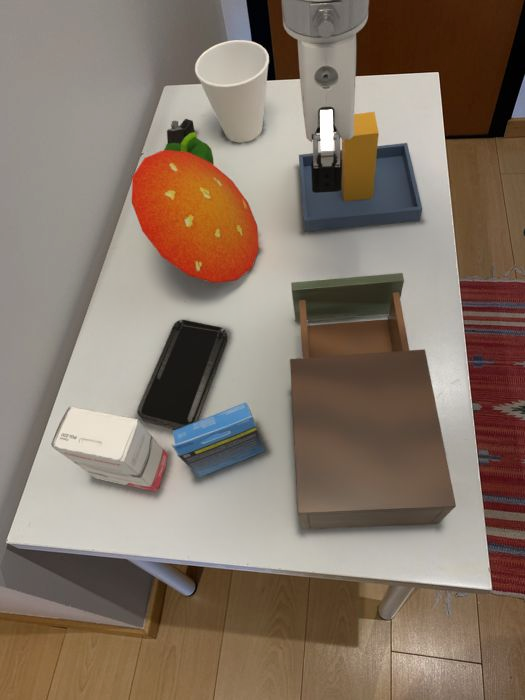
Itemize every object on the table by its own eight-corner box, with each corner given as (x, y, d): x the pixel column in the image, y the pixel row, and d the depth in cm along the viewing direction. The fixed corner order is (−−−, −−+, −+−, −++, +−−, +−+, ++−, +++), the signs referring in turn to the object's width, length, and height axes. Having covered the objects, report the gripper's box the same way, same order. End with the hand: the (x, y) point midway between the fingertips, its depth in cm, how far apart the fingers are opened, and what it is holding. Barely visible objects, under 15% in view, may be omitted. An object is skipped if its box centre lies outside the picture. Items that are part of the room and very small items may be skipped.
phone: (228, 328, 69) (190, 430, 63) (229, 333, 70) (192, 433, 64) (175, 318, 71) (133, 415, 65) (177, 322, 72) (136, 418, 66)
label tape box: (256, 424, 64) (240, 383, 53) (267, 454, 62) (253, 417, 51) (189, 450, 63) (160, 414, 52) (199, 481, 61) (170, 450, 50)
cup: (226, 103, 95) (212, 36, 84) (286, 112, 91) (279, 43, 81) (200, 146, 90) (182, 80, 79) (262, 157, 87) (252, 90, 76)
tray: (405, 155, 83) (407, 142, 81) (419, 221, 76) (422, 209, 74) (299, 166, 84) (298, 154, 82) (304, 232, 78) (303, 220, 75)
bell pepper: (178, 216, 82) (159, 167, 74) (166, 183, 86) (147, 133, 78) (227, 199, 83) (214, 149, 74) (213, 167, 87) (200, 116, 78)
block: (369, 178, 81) (374, 111, 70) (372, 198, 79) (378, 132, 68) (341, 181, 81) (342, 115, 71) (343, 201, 79) (345, 136, 69)
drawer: (294, 307, 70) (290, 274, 64) (394, 298, 69) (401, 264, 62) (301, 422, 62) (297, 398, 56) (415, 415, 61) (425, 389, 54)
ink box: (171, 452, 63) (139, 418, 53) (158, 492, 61) (122, 465, 51) (108, 439, 65) (65, 404, 55) (93, 478, 63) (46, 449, 52)
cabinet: (295, 392, 65) (289, 358, 57) (413, 384, 64) (425, 349, 56) (302, 529, 57) (297, 513, 49) (438, 524, 56) (456, 506, 48)
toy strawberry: (152, 306, 74) (113, 237, 61) (176, 201, 84) (147, 122, 71) (252, 307, 72) (234, 236, 59) (265, 199, 82) (252, 117, 69)
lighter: (184, 148, 94) (184, 117, 91) (195, 149, 93) (195, 118, 91) (163, 154, 87) (162, 121, 84) (174, 155, 86) (174, 122, 84)
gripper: (375, 58, 40) (362, 214, 55) (363, -54, 48) (355, 108, 63) (279, 66, 40) (292, 217, 55) (283, -45, 49) (294, 112, 64)
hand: (325, 159), depth 59 cm, fingers open, 9 cm apart
